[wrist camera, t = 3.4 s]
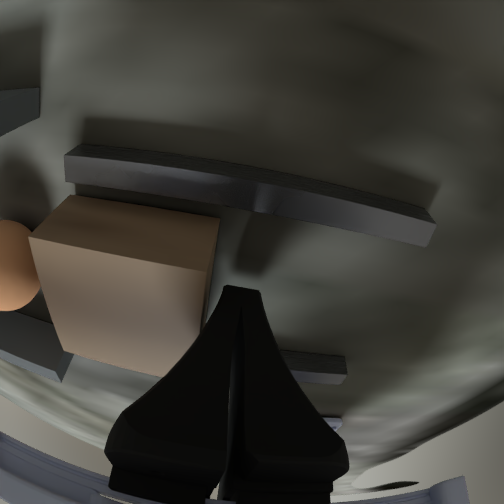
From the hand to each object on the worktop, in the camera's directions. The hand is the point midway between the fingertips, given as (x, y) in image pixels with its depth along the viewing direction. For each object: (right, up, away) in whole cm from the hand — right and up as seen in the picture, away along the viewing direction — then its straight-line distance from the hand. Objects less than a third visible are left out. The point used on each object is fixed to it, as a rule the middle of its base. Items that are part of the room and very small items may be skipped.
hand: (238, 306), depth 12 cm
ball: (-10, +1, -1) cm, 11 cm away
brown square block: (-4, +1, +1) cm, 4 cm away
